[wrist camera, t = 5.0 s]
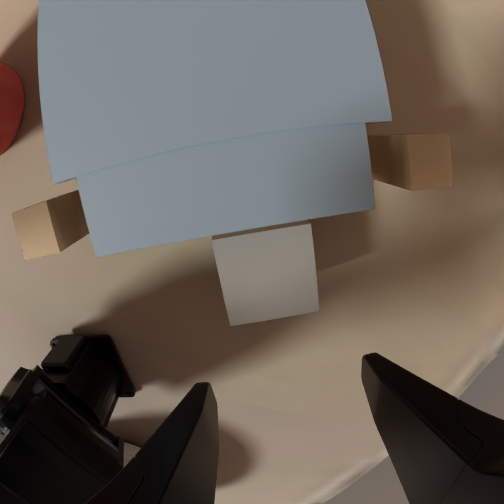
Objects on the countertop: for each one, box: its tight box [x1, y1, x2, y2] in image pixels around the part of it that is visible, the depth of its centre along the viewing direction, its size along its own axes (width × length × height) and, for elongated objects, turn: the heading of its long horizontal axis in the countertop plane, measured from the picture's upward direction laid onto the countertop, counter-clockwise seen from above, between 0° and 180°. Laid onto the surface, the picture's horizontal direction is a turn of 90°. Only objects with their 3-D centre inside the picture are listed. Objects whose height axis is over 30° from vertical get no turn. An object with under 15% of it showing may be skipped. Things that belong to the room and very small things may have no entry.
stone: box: [211, 220, 319, 326], centre depth 19 cm, size 5×5×5 cm
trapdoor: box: [37, 0, 392, 257], centre depth 10 cm, size 13×12×3 cm
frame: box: [12, 134, 453, 260], centre depth 15 cm, size 2×17×10 cm, turn 100°
